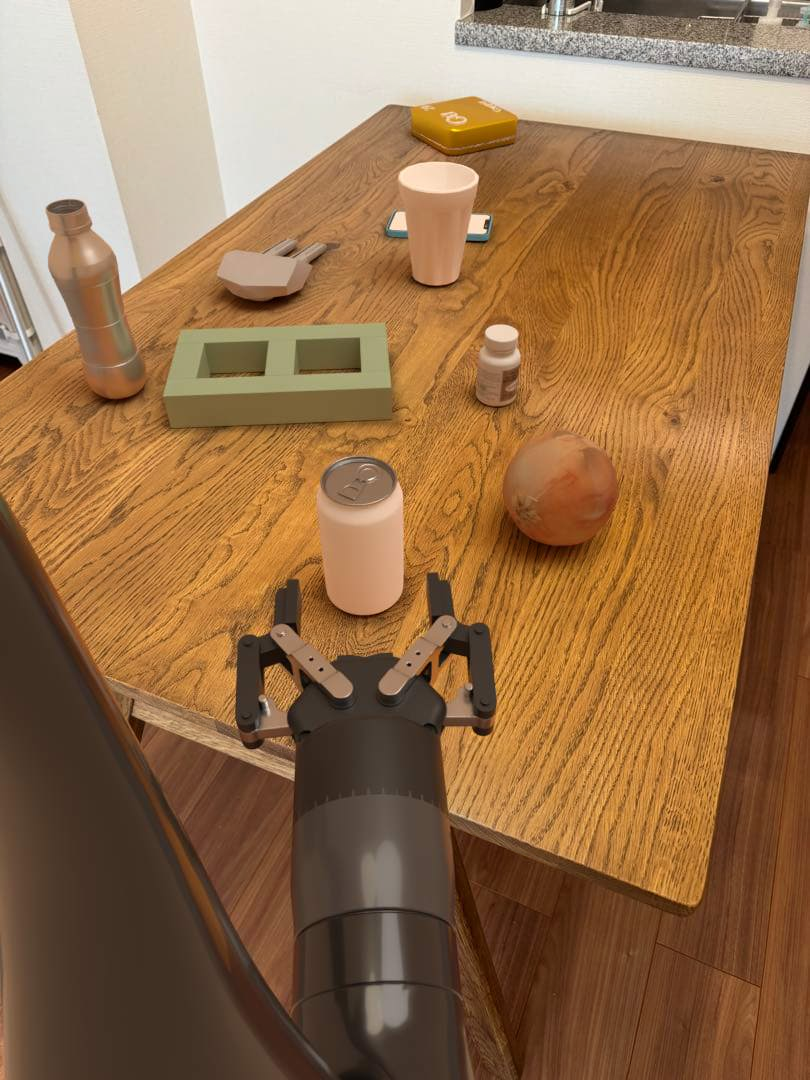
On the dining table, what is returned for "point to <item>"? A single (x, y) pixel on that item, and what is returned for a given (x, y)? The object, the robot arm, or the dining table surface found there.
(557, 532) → the onion
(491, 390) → the pill bottle
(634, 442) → the dining table surface
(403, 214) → the smartphone
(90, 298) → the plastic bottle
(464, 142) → the element tile
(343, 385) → the holder
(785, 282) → the dining table surface
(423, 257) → the cup
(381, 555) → the can
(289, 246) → the turret
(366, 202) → the dining table surface
